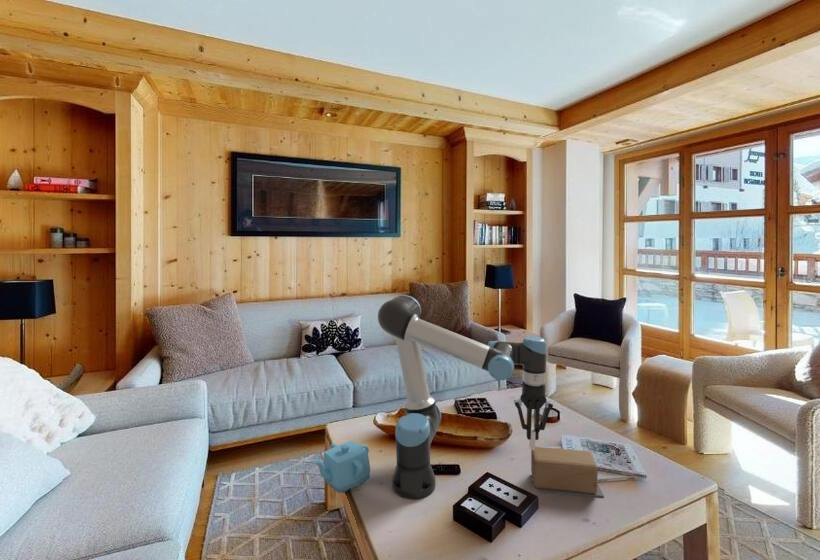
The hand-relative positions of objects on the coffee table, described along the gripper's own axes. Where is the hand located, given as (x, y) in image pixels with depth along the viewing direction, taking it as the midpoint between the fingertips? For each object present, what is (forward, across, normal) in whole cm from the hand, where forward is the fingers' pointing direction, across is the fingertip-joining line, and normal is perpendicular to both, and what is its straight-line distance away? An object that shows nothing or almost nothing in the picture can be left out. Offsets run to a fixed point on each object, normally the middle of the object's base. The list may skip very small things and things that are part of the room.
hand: (532, 447), depth 135 cm
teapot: (+13, -66, -9) cm, 68 cm away
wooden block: (+7, 0, 0) cm, 7 cm away
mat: (+12, +12, +1) cm, 17 cm away
